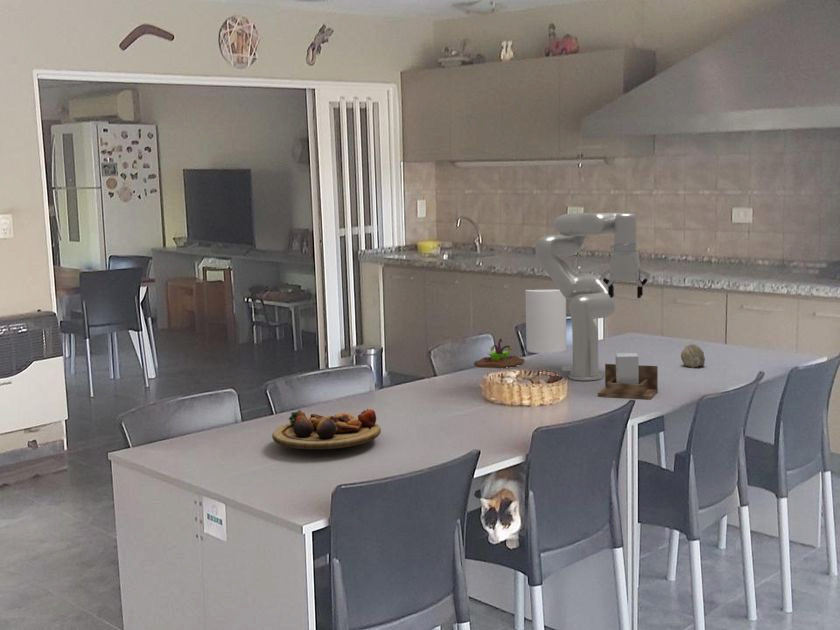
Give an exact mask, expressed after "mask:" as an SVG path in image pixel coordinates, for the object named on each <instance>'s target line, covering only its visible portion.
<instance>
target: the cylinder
mask: <svg viewBox="0 0 840 630" xmlns="http://www.w3.org/2000/svg"><path fill="white" fill-rule="evenodd" d="M566 300H567V298H565V297H564V296H563V294H562V293H561V292H560V290H559V289H525V331H526V332H525V333H526V334H525V338H526V339H525V340H526V341H525V342H526V352H528V353H532V354H533V353H534V354H556V353H557V352H558V353H562V352H561V351H563V352H565V351H567V301H566ZM564 350H565V351H564ZM558 353H557V354H558Z"/></svg>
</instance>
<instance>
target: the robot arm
mask: <svg viewBox="0 0 840 630" xmlns="http://www.w3.org/2000/svg"><path fill="white" fill-rule="evenodd" d="M554 228H555V231H556V232H557V233H558V234H550V235H545V236H542V237H540V238H539V239H538V240H537V241H536V243H535V256H536V259H537V261H538V263H539V264H538V265H540V267H541V268H542V269H543V270H544V271H545V273H547V275H548V276H549V277H550V278H551V280H552V281H553V283H554V284H555V286H556V287H557V288H558V289H557V290H560V292H561V293H562V294H563V296H564V297H565V298H566V300H570V302H569V304H568V305H569V306H568V310H569V314H570V319H571V326H572V327H571V330H572V331H571V332H572V336H571V337H572V341H571V343H572V365H570V366H564V365H563V366H562V367H561V371H562V372H563V373H569V374H568V379H569V380H574V381H582V382H583V381H584V382H585V381H590V382H591V381H599V380H601V379H603V375H604V374H602V373H599V330H598V329H599V328H598V327H597V325H596V323H595V322H594V320H595V319H597V320H598V319H604V318H605V319H606V318H609V317H610V316H611V315H613V314H614V312H615V311H616V310H615V309H616V305H615V300H614V295H615V294H614V293H615V292H614V291H615V289H614V288H615V287H614V283H615V282H624V283H625V282H626V283H627V282H634V283H636V284H637V287H636V288H637V289H636V291H637V293H636V295H637V296H636V298H638V299H640V298H642V296H643V292H644V290H643V289H644V285H646V284H647V282H648V281H649V279H650V277H651V273H649V272H647V271H646V270H644V269H642V268H641V262H640V261H641V260H640V255H639V252H637V215H636V214H635V213H634V212H633V213H631V212H629V213H628V212H626V213H625V212H598V213H597V212H596V213H595V212H594V213H589V212H574V213H573V212H572V213H565V214H562V215H560V216H558V217H557V219H556V220H555V222H554ZM593 235H595V236H596V235H598V236H599V235H613V240H614V242H613V245H610V247H609V249H610V250H611V251H613V252H612V253H611V257H610V263H609V265H610V267H609V269H607V270H606V271H604V272H602V273H600V277H601V278H602V279H600V278H599V277H598V276H597V275H596V274H594V273H589V272H585V273H578V272H575V271H574V269H573V268H572V266H571V265H570V264H569V263H568V262H567V261H565V260H564V259H563V258H561V257H571V256H574V255H577V254H578V253H579V252H580V250H581V249H582V248H583V246H584V244H585V243H586V242H587V239H589V237H590V236H593ZM607 275H609V279H608V278H607ZM641 275H643V276H644V278H643V280H641ZM603 282H604V284H605V285H606V286H607V287H606V286H605V285H604V284H603Z"/></svg>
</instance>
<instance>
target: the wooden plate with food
mask: <svg viewBox="0 0 840 630" xmlns="http://www.w3.org/2000/svg"><path fill="white" fill-rule="evenodd" d="M290 415H291V416H289V417H288V420H289V423H286V424H283V425H280V426H278V427H276V429H275V430H274V431H273V432H272V435H271V437H272V441H274V443H276V444H278V445H280V446H283V447H286V448H291V449H301V450H329V449H342V448H348V447H354V446H358V445H362V444H365V443H369V442H371V441H372V440H375V439H376V438H378V437H379V435H380V434H381V430H382V429H381V427H380V425H379V424H377V423H376V422H377V415H376V412H375V410H374V409H372V408H367V409H366V410H363V411H362V412H360V414H358V415H357V418H356V417H354V415H353V414H351V413H349V412H348V413H347V412H342V413H337V414H334V415H329V416H327V415H326V416H323V415H320V414H317V413H314V414H313V413H312V414H310V417H307V416H306V414H305V412H303V411H302V409H299V410H297V411H294V412H291V413H290Z"/></svg>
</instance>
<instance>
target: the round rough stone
mask: <svg viewBox="0 0 840 630" xmlns="http://www.w3.org/2000/svg"><path fill="white" fill-rule="evenodd" d="M680 358H681V362H682V364H683V365H685V367H687V366H688V368H692V367H693V369H694V368H700V367H704V365H705V361H706V358H705V355H704V351H703V349H702V348H701V347H700V346H699V345H697V344H695V343H694V344H693V343H689V344H686V345H684V349H682V350H681V353H680ZM699 366H700V367H699Z"/></svg>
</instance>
